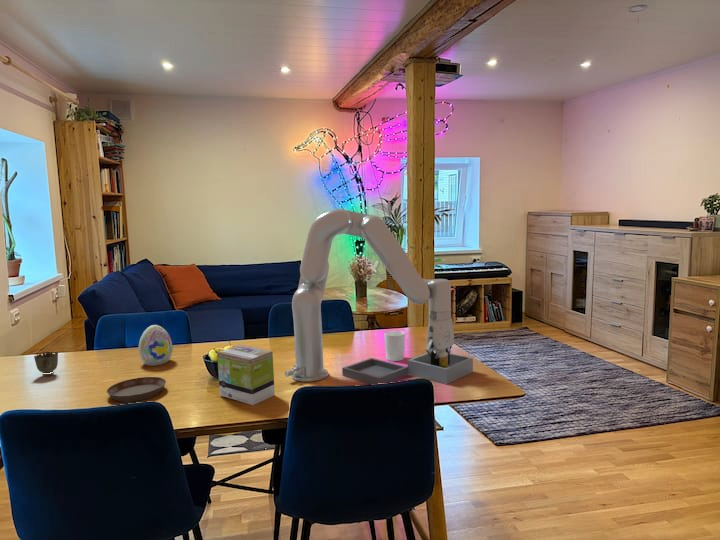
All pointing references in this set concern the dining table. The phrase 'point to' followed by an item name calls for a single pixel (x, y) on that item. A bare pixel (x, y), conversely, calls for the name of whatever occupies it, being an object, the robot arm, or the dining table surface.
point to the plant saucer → (136, 389)
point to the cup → (46, 362)
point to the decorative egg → (155, 346)
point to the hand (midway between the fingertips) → (440, 366)
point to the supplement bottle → (443, 358)
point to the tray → (375, 371)
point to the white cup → (394, 345)
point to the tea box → (246, 374)
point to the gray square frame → (440, 368)
